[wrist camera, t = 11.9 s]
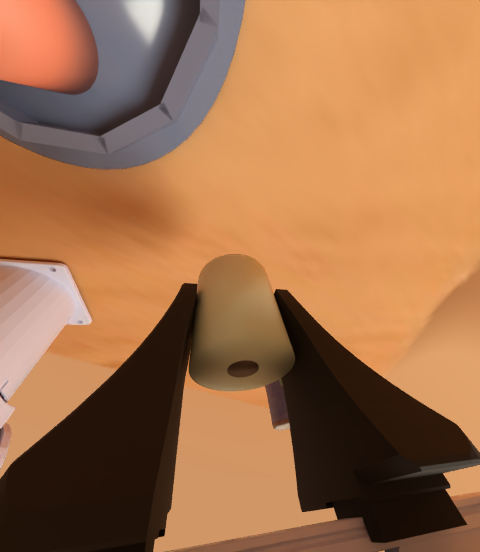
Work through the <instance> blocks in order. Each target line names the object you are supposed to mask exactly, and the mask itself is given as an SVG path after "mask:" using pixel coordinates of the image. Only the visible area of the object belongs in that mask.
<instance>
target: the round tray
mask: <svg viewBox="0 0 480 552" xmlns="http://www.w3.org/2000/svg"><path fill="white" fill-rule="evenodd" d="M75 1H76V2H77V3H78V5H79V6H80V8H81V10H82V11H83V13H84V15H85V17H86V19H87V21H88V23H89V25H90V27H91V30H92V32H93V35H94V38H95V42H96V46H97V51H98V61H99V64H98V73H97V77H96V80H95V82H94V84H93V85H92V87H91V88H90V89H89V90H87V91H86V92H84V93H82V94H78V95H68V94H63V93H59V92H54V91H49V90H45V89H40V88H36V87H31V86H27V85H22V84H17V83H13V82H8V81H4V80H0V136H2V137H4V138H6V139H8V140H10V141H11V142H13V143H15V144H17V145H19V146H21V147H24V148H26V149H28V150H31V151H33V152H35V153H38V154H40V155H42V156H45V157H48V158H51V159H54V160H57V161H60V162H63V163H67V164H72V165H76V166H81V167H86V168H96V169H123V168H130V167H134V166H139V165H143V164H146V163H148V162H151V161H154V160H156V159H159V158H161V157H162V156H164V155H166V154H167V153H169V152H171V151H172V150H174V149H176V148H177V147H178V146H179V145H180V144H182V143H183V142H184V141H185V140H186V139H187V138H189V137H190V136H191V134H192V133H193V132H194V131H195V130H196V129H197V127H198V126H199V125H200V124H201V123H202V121H203V120H204V118H205V117H206V115H207V114H208V112H209V111H210V109H211V107H212V106H213V104H214V102H215V100H216V98H217V96H218V94H219V92H220V90H221V88H222V86H223V83H224V81H225V79H226V76H227V73H228V70H229V67H230V64H231V61H232V58H233V55H234V52H235V48H236V43H237V39H238V35H239V31H240V26H241V22H242V18H243V12H244V5H245V0H75Z"/></svg>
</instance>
